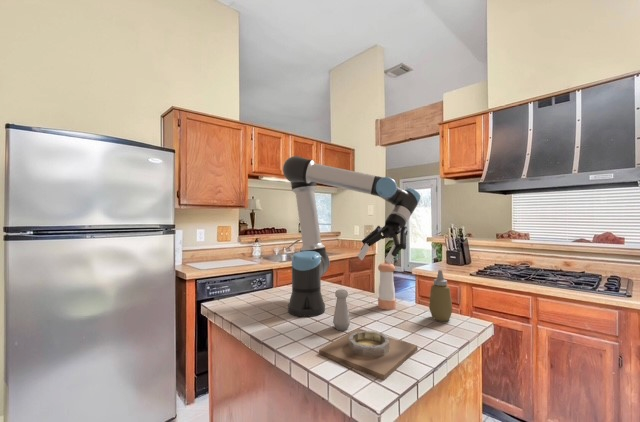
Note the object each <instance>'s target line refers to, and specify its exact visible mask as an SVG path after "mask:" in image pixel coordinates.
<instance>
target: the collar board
mask: <svg viewBox="0 0 640 422" xmlns="http://www.w3.org/2000/svg"><path fill="white" fill-rule="evenodd" d="M415 352H418V344H413V343H411V342H406V341H403V340H399V339H397V338H393V337H389V336H387V335H385V334H384V333H381V332H378V331H374V330H373V331H372V330H365V329H362V328H356V329H355V330H353V331H351V332H348V333H347V334H344V335H343V336H340V338H338V339H336V340H334V341H333V342H332V341H331V343H329V344H326V346H323V347H321V348H320V349H319V350H318V355H320V356H323V357H325V358H327V359H330V360H333V361H335V362H337V363H340V364H343V365H346V366H348V367H350V368H353V369H355V370H358V371H361V372H363V373H365V374H368V375H370V376H373V377H375V378H377V379H381V380H382V381H385V380H387V378H389V377H390V376H391V375H392V374H393V373H394V372H395V371H396V370H397V369H399V367H401V366H402V364H404V362H406V361H408V360H409V358H410V357H412V355H414V354H415Z"/></svg>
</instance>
